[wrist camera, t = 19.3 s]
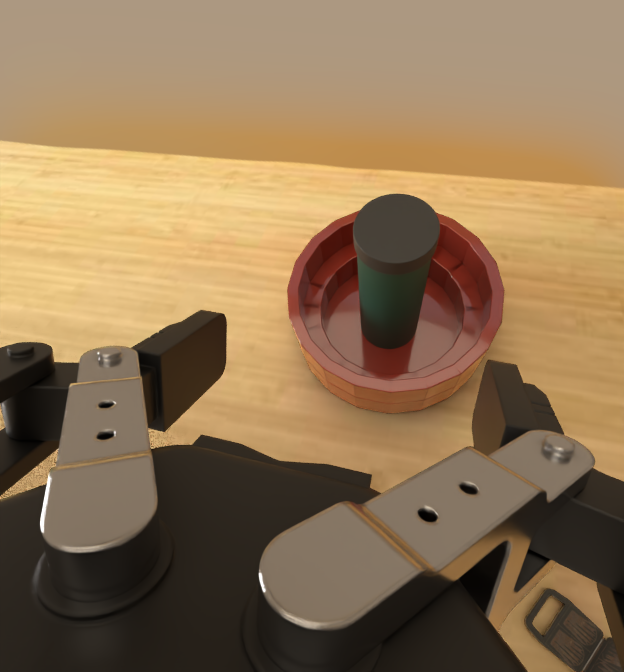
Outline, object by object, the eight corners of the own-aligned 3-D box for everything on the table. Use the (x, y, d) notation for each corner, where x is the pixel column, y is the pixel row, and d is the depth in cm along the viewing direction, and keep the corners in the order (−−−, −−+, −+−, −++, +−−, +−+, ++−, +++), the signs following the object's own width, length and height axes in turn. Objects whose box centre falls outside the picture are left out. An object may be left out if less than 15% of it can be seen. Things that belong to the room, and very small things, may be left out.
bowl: (491, 263, 37) (511, 217, 32) (473, 434, 32) (493, 412, 27) (322, 241, 40) (314, 195, 35) (279, 394, 35) (263, 367, 30)
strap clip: (687, 703, 25) (746, 734, 21) (660, 753, 24) (715, 794, 20) (547, 582, 28) (575, 589, 24) (519, 623, 27) (543, 637, 23)
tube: (422, 302, 36) (445, 197, 25) (414, 356, 34) (434, 269, 23) (365, 293, 37) (362, 189, 26) (353, 345, 35) (345, 256, 24)
